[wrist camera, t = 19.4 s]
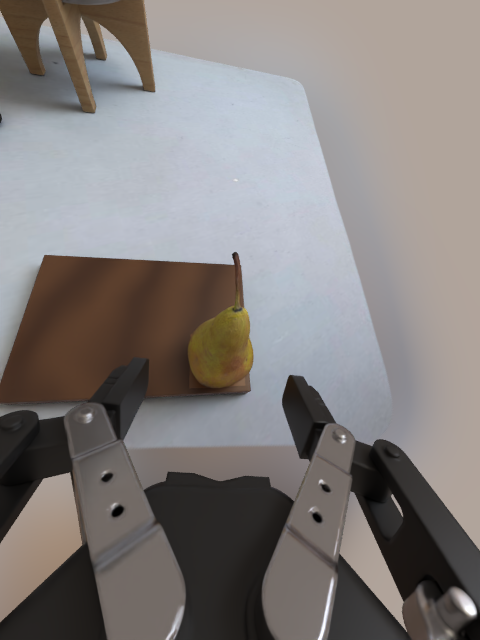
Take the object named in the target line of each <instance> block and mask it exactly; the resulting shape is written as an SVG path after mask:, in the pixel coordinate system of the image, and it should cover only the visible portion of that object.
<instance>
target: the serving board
mask: <svg viewBox="0 0 480 640" xmlns="http://www.w3.org/2000/svg"><path fill="white" fill-rule="evenodd" d="M235 280H236V278H235V265H225V264H206V263H187V262H168V261H149V260H130V259H111V258H92V257H73V256H54V255H44V258H43V261H42V264H41V267H40V269H39V272H38V275H37V278H36V281H35V284H34V287H33V290H32V293H31V295H30V298H29V301H28V304H27V307H26V310H25V313H24V316H23V319H22V322H21V324H20V327H19V330H18V333H17V336H16V339H15V342H14V345H13V348H12V351H11V353H10V356H9V359H8V362H7V365H6V368H5V371H4V374H3V377H2V380H1V382H0V404H5V405H12V404H33V403H53V402H74V401H89V400H90V398H91V397H92V396H93V395H94V393H95V392H96V391H97V390H98V388H99V387H100V386H101V385H102V384H103V383H104V381H105V380H106V379H107V378H108V376H109V375H110V374H111V372H112V371H113V370H114V369H116V368H118V367H120V366H121V365H125V366H128V364H129V363H130V362H131V360H132V359H133V358H134V357H138V358H147V359H149V382H148V388H147V392H146V394H145V396H144V398H156V397H176V396H197V395H217V394H238V393H248V392H250V391H251V389H250V376H249V373H248V374H247V376H246V377H244V378H243V379H242V380H240V381H238V382H236V383H234V384H232V385H230V386H228V387H223V388H210V387H205V386H203V385H202V384H200V383H199V382H198V381H197V379H196V378H195V376H194V375H193V373H192V371H191V368H190V364H189V359H188V344H189V341H190V338H191V336H192V334H193V332H194V331H195V330H196V329H197V328H198V327H199V326H200V325H201V324H202V323H204V322H206V321H208V320H210V319H212V318H215V317H216V316H217V315H218V314H220V313H221V312H222V311H224V310H226V309H227V308H229V307H231V306H235V300H236V296H235V294H236V283H235ZM239 287H240V300H239V301H240V307H244V298H243V285H242V272H241V265H240V286H239Z"/></svg>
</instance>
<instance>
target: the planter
mask: <svg viewBox="0 0 480 640" xmlns="http://www.w3.org/2000/svg"><path fill="white" fill-rule="evenodd" d="M0 11H1V13H2V15H3V17H4V19H5V21H6V24H7V26H8V28H9V30H10V32H11V34H12V36H13V38H14V40H15V42H16V44H17V46H18V48H19V50H20V52H21V54H22V57H23V59H24V61H25V63H26V65H27V67H28V69H29V71H30V73H31V74H38V75H44V74H45V71H46V70H45V68H44V65H43V63H42V59H41V55H40V49H39V31H40V27H41V25H42V23H43V22H44V21H45V20H46V19H47V18H48V17H49V20H50V23H51V26H52V28H53V31H54V34H55V36H56V39H57V42H58V44H59V47H60V50H61V52H62V55H63V58H64V60H65V63H66V66H67V68H68V71H69V74H70V77H71V79H72V82H73V85H74V87H75V90H76V93H77V95H78V98H79V101H80V103H81V106H82V109H83V111H84V112H91V113H95V109H96V104H95V101H94V98H93V94H92V91H91V87H90V83H89V79H88V75H87V70H86V65H85V60H84V55H83V49H82V41H81V31H80V18H81V17H82V19H83V21H84V23H85V26H86V28H87V31H88V33H89V36H90V39H91V42H92V45H93V48H94V51H95V55H96V58H97V59H102V60H106V58H107V53H106V49H105V45H104V41H103V38H102V34H101V30H100V26H99V24H100V25H102V26H103V27H105V28H106V29H107V30H108V31H110V32H111V33H112V34H113V35H114V36H115V37H116V38H117V39H118V40H119V41H120V42H121V44H122V45H123V46H124V48H125V49H126V50H127V52H128V53H129V55H130V56H131V58H132V60H133V61H134V63H135V65H136V67H137V70H138V72H139V74H140V77H141V80H142V83H143V89H144V90H146V91H152V92H155V82H154V75H153V67H152V59H151V51H150V44H149V36H148V28H147V21H146V13H145V5H144V0H0Z"/></svg>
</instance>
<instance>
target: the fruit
mask: <svg viewBox="0 0 480 640" xmlns="http://www.w3.org/2000/svg"><path fill="white" fill-rule="evenodd" d="M232 257H233V260H234V264H235V278H236V280H235V283H236V294H235V296H236V300H235V306H231V307H229V308H227V309H226V310H224V311H222V312H221V313H220V314H218V315H217V316H216V317H215V318H212V319H210V320H208V321H206V322H204V323H202V324H201V325H200V326H199V327H198V328H197V329H196V330H195V331H194V332H193V334H192V336H191V338H190V341H189V344H188V359H189V364H190V368H191V371H192V373H193V375H194V376H195V378H196V379H197V381H198V382H199V383H200V384H202V385H203V386H205V387H210V388H223V387H228V386H230V385H232V384H234V383H236V382H238V381H240V380H242V379H243V378H244V377H246V376H247V374H248V373H249V372H250V370H251V367H252V365H253V349H252V344H251V341H250V339H249V333H250V321H249V316H248V312H247V311H246V309H245V308H244V307H240V301H239V300H240V287H239V286H240V260H239V256H238V253H237V252H234V253H233V254H232Z"/></svg>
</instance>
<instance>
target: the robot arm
mask: <svg viewBox="0 0 480 640" xmlns="http://www.w3.org/2000/svg"><path fill="white" fill-rule="evenodd" d="M148 382H149V359H147V358H138V357H134V358H133V359H132V360H131V362H130V363H129V364H128V366H125V365H121V366H120V367H118V368H116V369H114V370H113V371H112V372H111V374H110V375H109V376H108V378H107V379H106V380H105V381H104V383H103V384H102V385H101V386H100V387H99V388H98V390H97V391H96V392H95V393H94V395H93V396H92V397H91V398H90V400H89V401H88V402H87V403H84V404H81V405H78V406H76V407H74V408H72V409H71V410H70V411H68V412H67V414H66V415H65V416H63V417H57V418H50V419H43V420H39V418H38V415H37V413H36V412H33V411H29V410H22V411H16V412H12V413H9V414H6V415H4V416H1V417H0V543H1V541H2V540H3V538H4V537H5V535H6V534H7V532H8V531H9V529H10V528H11V526H12V525H13V523H14V522H15V520H16V519H17V517H18V516H19V514H20V513H21V511H22V510H23V508H24V507H25V505H26V504H27V502H28V501H29V499H30V498H31V496H32V495H33V493H34V492H35V490H36V489H37V487H38V486H39V484H40V483H41V481H42V480H43V478H48V477H52V476H56V475H60V474H65V473H69V472H70V474H71V480H72V485H73V491H74V497H75V502H76V508H77V513H78V520H79V527H80V533H81V539H82V546H81V547H80V548H79V549H78V550H77V551H76V552H75V553H74V554H72V555H71V556H70V557H69V558H68V559H67V560H66V561H65V562H64V563H63V564H62V565H61V566H60V567H59V568H58V569H57V570H55V571H54V572H53V573H52V574H51V575H50V576H49V577H48V578H47V579H46V580H45V581H44V582H43V583H42V584H41V585H39V586H38V587H37V588H36V589H35V590H34V591H33V592H32V593H31V594H30V595H29V596H28V597H27V598H26V599H25V600H24V601H23V602H21V603H20V604H19V605H18V606H17V607H16V608H15V609H14V610H13V611H12V612H11V613H10V614H9V615H8V616H7V617H5V618H4V619H3V620H2V621H1V622H0V640H480V551H479V549H478V548H477V547H476V545H475V544H474V543H473V541H472V540H471V539H470V538H469V536H468V535H467V534H466V532H465V531H464V530H463V528H462V527H461V526H460V525H459V523H458V522H457V520H456V519H455V518H454V517H453V515H452V514H451V513H450V511H449V510H448V509H447V507H446V506H445V505H444V503H443V502H442V501H441V500H440V498H439V497H438V496H437V494H436V493H435V492H434V491H433V489H432V488H431V486H430V485H429V484H428V483H427V481H426V480H425V479H424V477H423V476H422V475H421V473H420V472H419V471H418V469H417V468H416V467H415V466H414V464H413V463H412V462H411V460H410V459H409V458H408V456H407V455H406V454H405V453H404V452H403V451H402V450H401V449H400V448H399V447H397V446H396V445H395V444H393V443H391V442H389V441H386V440H381V439H379V440H376V441H375V442H374V444H373V446H370V445H367V444H364V443H361V442H358V441H356V440H355V438H354V436H353V435H352V434H351V432H350V431H348V430H347V429H346V428H344V427H343V426H341V425H338V424H336V422H335V420H334V419H333V417H332V415H331V413H330V412H329V410H328V408H327V407H326V406H325V403H324V402H323V400H322V398H321V396H320V395H319V393H318V392H317V391H316V390H315V389H314V388H313V387H312V386H308V384H307V382H306V381H305V379H304V377H303V376H294V375H290V376H289V377H288V380H287V384H286V387H285V390H284V394H283V398H282V406H283V409H284V412H285V415H286V418H287V421H288V424H289V427H290V430H291V433H292V436H293V439H294V442H295V445H296V448H297V451H298V454H299V457H300V458H301V459H309V461H310V464H309V466H308V469H307V471H306V474H305V476H304V479H303V481H302V484H301V486H300V489H299V491H298V494H297V496H296V499H295V501H293V500H292V499H291V498H290V497H288V496H287V495H286V494H284V493H283V492H281V491H279V490H278V489H275V488H273V487H271V485H270V480H269V477H254V476H243V477H239V478H234V479H230V480H226V481H216V480H213V479H209V478H207V477H204V476H201V475H198V474H195V473H180V472H168V474H167V478H166V481H164V482H160V483H157V484H155V485H152V486H150V487H148V488H146V489H145V490H143V488H142V485H141V483H140V481H139V478H138V476H137V473H136V471H135V469H134V466H133V464H132V461H131V459H130V456H129V454H128V452H127V449H126V447H125V444H124V442H123V440H124V438H125V436H126V434H127V432H128V429H129V427H130V425H131V423H132V421H133V419H134V417H135V415H136V413H137V411H138V409H139V407H140V405H141V403H142V401H143V399H144V396H145V394H146V392H147V388H148ZM350 491H351V492H354V493H355V495H356V497H357V499H358V501H359V504H360V506H361V508H362V510H363V513H364V515H365V517H366V519H367V521H368V524H369V526H370V528H371V530H372V533H373V535H374V537H375V539H376V541H377V544H378V546H379V548H380V550H381V553H382V555H383V557H384V559H385V561H386V564H387V566H388V568H389V570H390V572H391V575H392V577H393V579H394V581H395V584H396V586H397V588H398V590H399V593H400V595H401V597H402V599H403V601H404V603H403V607H402V614H403V619H404V624H405V626H406V629H407V632H406V630H405V629H404V628H403V627H402V626H401V624H400V623H399V622H398V621H397V620H396V619H395V617H393V615H392V614H391V613H390V612H389V610H387V608H386V607H385V606H384V605H383V603H382V602H381V601H380V600H379V599H378V598H377V597H376V595H375V594H374V593H373V592H372V591H371V590H370V588H368V586H367V585H366V584H365V583H364V582H363V580H362V579H361V578H360V577H359V576H358V574H357V573H356V572H355V571H354V570H353V569H352V568H351V566H350V565H349V564H348V563H347V562H346V561H345V559H344V558H343V557H342V556H341V555H340V554H339V552H340V546H341V540H342V535H343V529H344V523H345V517H346V512H347V506H348V501H349V495H350ZM392 494H393V495H394V497H395V499H396V500H397V502H398V503H399V505H400V507H401V509H402V513H403V517H402V516H401V513H400V512H399V510H398V508H397V507H396V505H395V503H394V501H393V500H392V498H391V495H392Z"/></svg>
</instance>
